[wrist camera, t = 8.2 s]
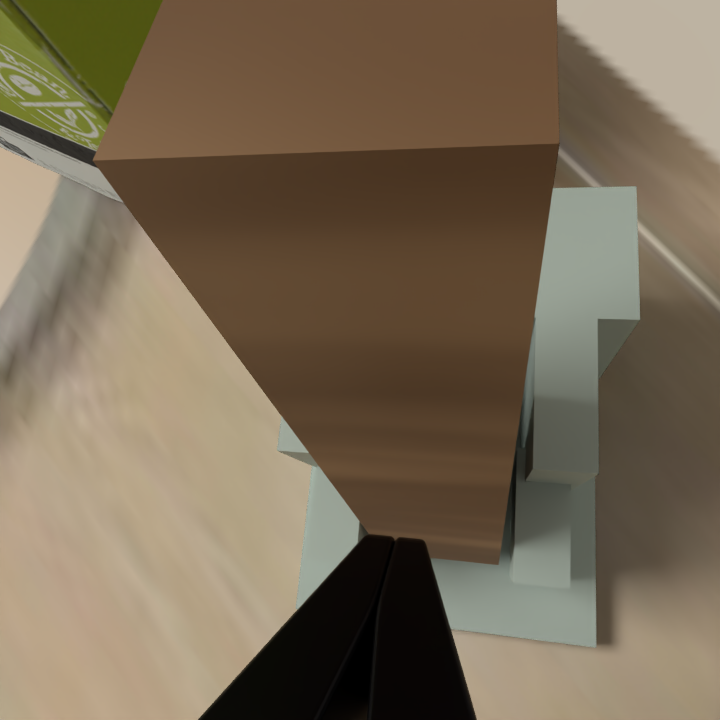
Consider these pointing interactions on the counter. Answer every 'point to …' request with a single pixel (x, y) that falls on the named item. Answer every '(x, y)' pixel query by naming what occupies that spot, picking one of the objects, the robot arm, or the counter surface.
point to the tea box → (67, 78)
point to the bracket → (532, 441)
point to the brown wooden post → (360, 228)
